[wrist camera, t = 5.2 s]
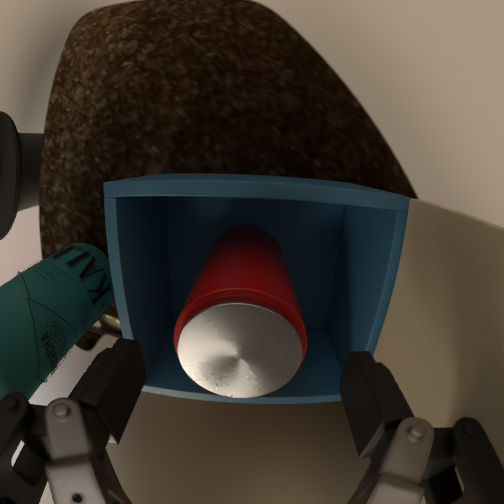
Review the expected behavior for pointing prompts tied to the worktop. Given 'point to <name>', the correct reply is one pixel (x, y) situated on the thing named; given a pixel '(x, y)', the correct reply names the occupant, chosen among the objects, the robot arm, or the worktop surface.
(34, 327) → the beverage bottle
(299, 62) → the worktop surface
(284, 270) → the can
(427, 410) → the lid
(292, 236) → the cool box
